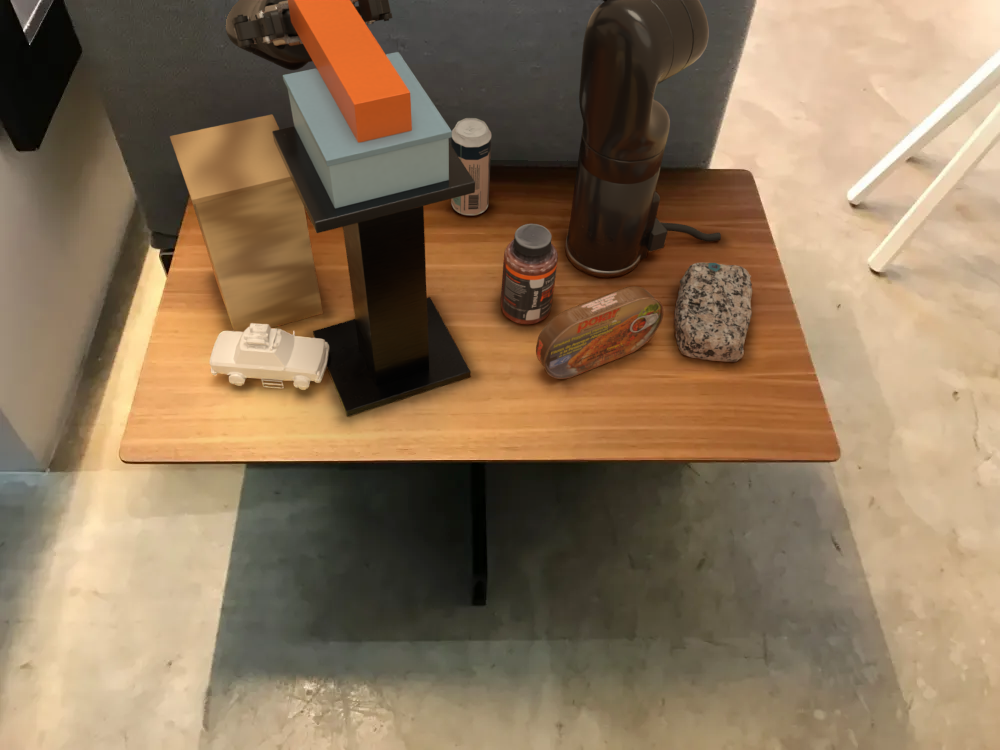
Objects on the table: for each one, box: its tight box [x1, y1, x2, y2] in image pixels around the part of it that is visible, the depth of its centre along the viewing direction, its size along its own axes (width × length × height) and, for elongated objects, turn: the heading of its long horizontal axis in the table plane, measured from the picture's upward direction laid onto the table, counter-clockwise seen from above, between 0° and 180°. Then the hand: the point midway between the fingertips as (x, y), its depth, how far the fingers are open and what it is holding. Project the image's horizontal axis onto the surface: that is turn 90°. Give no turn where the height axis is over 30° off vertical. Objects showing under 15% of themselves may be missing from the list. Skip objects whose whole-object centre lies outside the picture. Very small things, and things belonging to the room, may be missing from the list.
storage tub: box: [282, 51, 452, 208], centre depth 72 cm, size 10×12×5 cm
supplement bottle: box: [500, 223, 559, 325], centre depth 95 cm, size 6×6×11 cm
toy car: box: [209, 323, 329, 391], centre depth 90 cm, size 6×12×7 cm, turn 87°
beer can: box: [450, 117, 492, 216], centre depth 106 cm, size 5×5×12 cm
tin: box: [535, 285, 664, 380], centre depth 92 cm, size 15×3×8 cm, turn 117°
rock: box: [673, 261, 753, 363], centre depth 98 cm, size 13×9×4 cm
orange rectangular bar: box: [288, 0, 412, 143], centre depth 71 cm, size 4×19×4 cm, turn 24°
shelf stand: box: [272, 125, 475, 418], centre depth 84 cm, size 14×13×27 cm
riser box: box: [169, 114, 324, 332], centre depth 92 cm, size 10×10×20 cm
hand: (326, 15), depth 73 cm, fingers open, 8 cm apart
